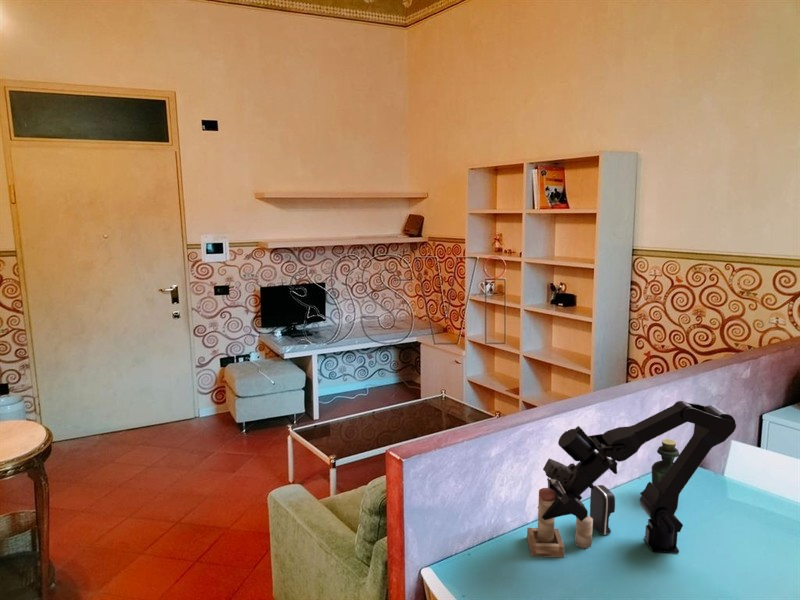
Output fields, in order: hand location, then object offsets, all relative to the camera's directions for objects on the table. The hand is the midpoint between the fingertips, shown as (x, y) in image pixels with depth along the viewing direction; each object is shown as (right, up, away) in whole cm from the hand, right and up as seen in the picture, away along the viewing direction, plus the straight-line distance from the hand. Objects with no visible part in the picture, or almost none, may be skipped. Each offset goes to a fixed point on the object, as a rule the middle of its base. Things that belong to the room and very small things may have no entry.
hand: (541, 513), depth 146 cm
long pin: (+1, -7, +1) cm, 7 cm away
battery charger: (+19, -8, +10) cm, 22 cm away
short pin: (+11, -9, +3) cm, 15 cm away
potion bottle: (+42, -5, +24) cm, 48 cm away
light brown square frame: (+1, -9, +2) cm, 9 cm away
